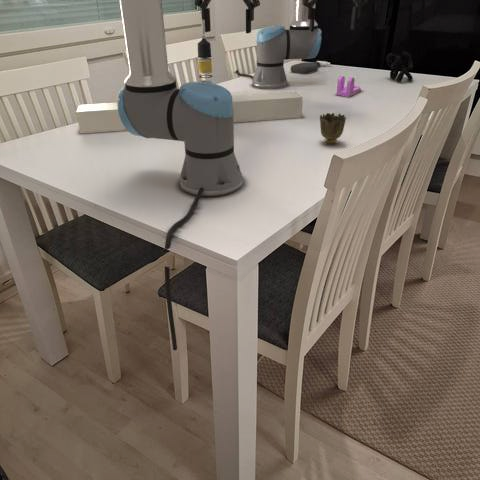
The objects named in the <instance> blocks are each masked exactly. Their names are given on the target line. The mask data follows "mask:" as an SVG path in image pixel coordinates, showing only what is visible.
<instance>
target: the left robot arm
mask: <svg viewBox="0 0 480 480" xmlns="http://www.w3.org/2000/svg"><path fill="white" fill-rule="evenodd" d="M211 1H212V0H195V2H194V5H195V7H199V8H200V10H201V11H200V12H201V13H202V20H204V28H205V33H209V32H211V31H212V30H211V29H212V28H211V27H212V26H211V9H210V7H208V6H209V5H210V3H211ZM242 1H243V3H244V4H245V6H246V7H247V8H246V9H245V34H251V33H252V22H253V21H254V20H255V9H256V8H257V7H259V6H261V1H260V0H242ZM119 5H120V11H121V19H122V25H123V26H122V27H123V33H124V40H125V46H126V54H127V60H128V68H129V74H128V75H127V77H126V78H125V79H124V86H123V87H122V89H121V90H120V91H119V93H118V100H117V102H118V104H117V105H118V113H119V117H120V120H121V122H122V124H123V126H124V127H125V128H126V130H125V131H127V132H129V133H130V134H131V135H133V136H136V137H141V138H144V139H157V140H166V141H178V142H183V143H184V154H185V155H184V158H183V164H182V168H181V171H180V177H179V178H180V179H179V183H180V184H179V185H180V188H181V189H182V191H184V192H186V193H187V194H190V195H194V196H195V197H194V199H193V202H192V204H191V205H190V208H189V210H188V212H187V213H186V214H185V215H184V217H182V218H181V219H180V220H178V221H176V222H175V223H174V224H173V225H172V226H171V227H170V228H169V229H168V231H167V233H166V237H165V244H164V249H165V250H169V249H170V248H171V241H172V236H173V233H174V232H175V231H176V229H177V228H178V227H180V226H182V225H183V224H184V223H186V222H187V221H188V220H189V219H190V218H191V216H192V215H193V213H194V211H195V209H196V207H197V204H198V203H199V200H200V199H201V197H221V196H224V195H229V194H232V193H234V192H235V191H237V190H239V189H240V188H241V187H242V185H243V174H242V171H241V167H240V163H239V161H238V160H237V157H236V154H235V132H234V131H235V129H234V127H235V126H234V123H235V122H234V121H233V115H234V109H233V102H232V95H233V94H232V93H231V91H230V90H228V89H227V88H226V87H224V86H222V85H219V84H217V83H214V82H213V83H207V82H200V81H199V82H198V81H189V82H185V83H183V84H181V85H180V87H179V88H177V78H176V76H175V75H174V74H172V73H171V71H169V62H168V52H167V42H166V30H165V23H164V22H165V21H164V10H163V1H162V0H119ZM170 273H171V271H170V267H169V266H164V284H165V297H166V307H167V315H168V322H169V329H170V335H171V344H172V351H177V350H178V344H177V342H178V341H177V336H176V335H177V333H176V326H175V320H174V312H173V304H172V292H171V274H170Z"/></svg>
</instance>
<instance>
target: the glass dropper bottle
mask: <svg viewBox="0 0 480 480" xmlns="http://www.w3.org/2000/svg"><path fill="white" fill-rule="evenodd" d="M199 14H200V21H201V29H200V30H201V35H202V36H201V40H200V41H199V42H197V58H198V59H197V60H198V62H197V63H198V74H200V75H199V76H198V77H199V78H201V79H203V80H200V81H199V82H207V83H213V84H214V82H213V80H212V79H211V80H210V78H213V75H212V73H213V70H212V69H213V67H212V66H213V65H212V58H211V57H212V49H211V47H212V46H211V42H210V41H208V40H207V39H206V36H204V35H205V33H206V32H205V21H204V20H202V13H201V11H199Z"/></svg>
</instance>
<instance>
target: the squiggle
mask: <svg viewBox="0 0 480 480" xmlns="http://www.w3.org/2000/svg"><path fill="white" fill-rule="evenodd" d="M401 57H402V59H401ZM391 59H392V60H391ZM393 60H394V61H393ZM385 61H386V64H387V67H390V68H391V70H390V72H389V78H390V79H391V80H395V79H396V81H397V82H399V83H400V82H402V81H403V79H404V76H406V78H407V80H408V81H412V80H413V79H414V77H413V75H412V74H411V73H410V72H409V71H410V70H412V69H413V68H414V64H413V61H412V57H411V54H410V53H409V52H408V51H403V53H402V54H401V55H396V54H394V53H392V52H390V53H387V55H386V57H385ZM406 62H407V65H408V66H407V67H405V66H404V65H405V64H406ZM400 70H401V71H400Z"/></svg>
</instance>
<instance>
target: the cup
mask: <svg viewBox="0 0 480 480" xmlns="http://www.w3.org/2000/svg"><path fill="white" fill-rule="evenodd" d="M346 120H347V116H346V115H345V114H341V113H338V115H335V113H334V112H332V113H330V112H327V113H326V114H324V113H322V114H320V115H319V126H320V134H321V136H322V137H323V138H324V143H325V144H328V145H335V144H336V143H338V139H339V138H340V137H342V135H343V132H344V129H345V124H346Z"/></svg>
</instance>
